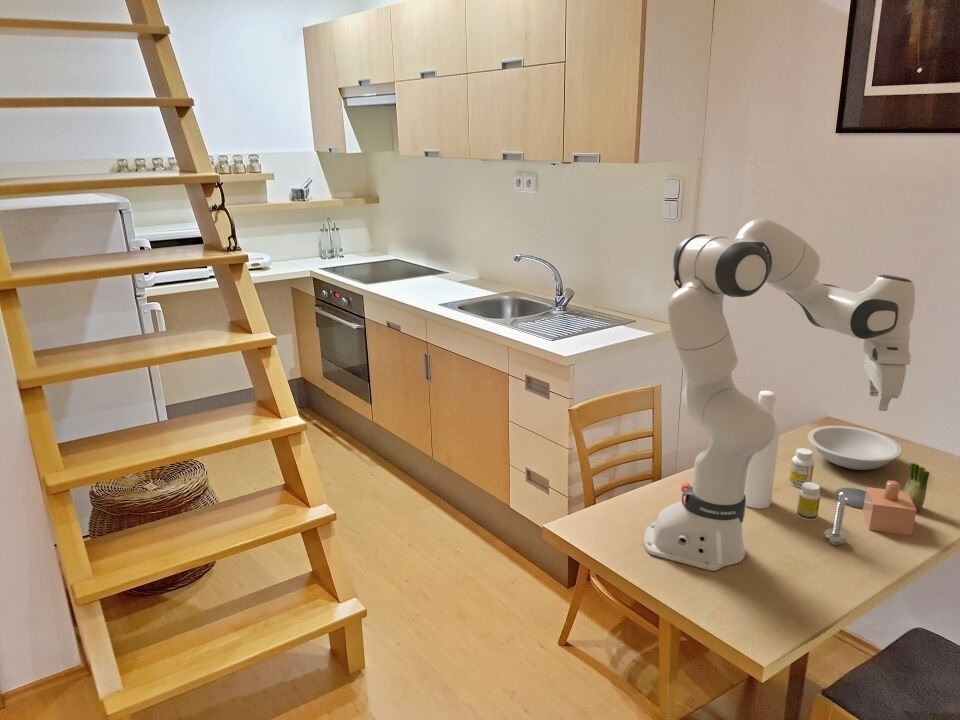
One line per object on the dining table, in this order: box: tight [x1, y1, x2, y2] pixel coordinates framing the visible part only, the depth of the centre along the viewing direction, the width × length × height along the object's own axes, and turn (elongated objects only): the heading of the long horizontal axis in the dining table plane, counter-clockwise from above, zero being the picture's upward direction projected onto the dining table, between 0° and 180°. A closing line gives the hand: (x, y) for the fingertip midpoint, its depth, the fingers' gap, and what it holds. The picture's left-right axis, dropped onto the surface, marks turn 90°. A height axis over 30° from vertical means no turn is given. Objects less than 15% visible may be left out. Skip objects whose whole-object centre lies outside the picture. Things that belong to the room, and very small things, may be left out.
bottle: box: [744, 390, 780, 510], centre depth 179 cm, size 8×8×30 cm
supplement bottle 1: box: [789, 447, 815, 489], centre depth 191 cm, size 5×5×10 cm
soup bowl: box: [807, 425, 903, 471], centre depth 204 cm, size 24×24×7 cm
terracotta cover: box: [862, 480, 917, 537], centre depth 171 cm, size 9×9×11 cm
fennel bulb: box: [902, 461, 930, 512], centre depth 178 cm, size 6×5×12 cm
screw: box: [823, 492, 849, 546], centre depth 163 cm, size 13×5×5 cm
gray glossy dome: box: [834, 487, 866, 510], centre depth 184 cm, size 10×10×1 cm
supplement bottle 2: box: [796, 481, 821, 521], centre depth 175 cm, size 5×5×8 cm
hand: (877, 402), depth 166 cm, fingers open, 8 cm apart
